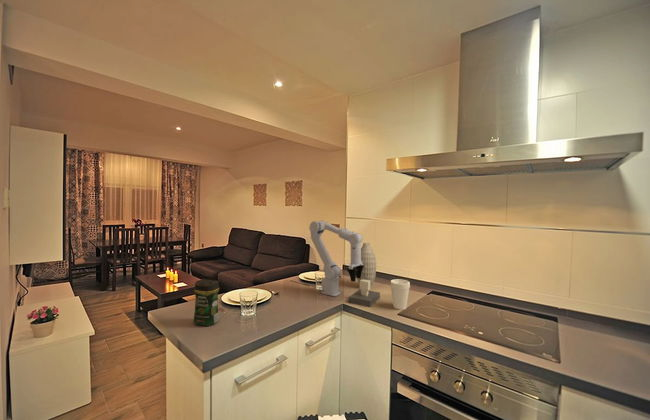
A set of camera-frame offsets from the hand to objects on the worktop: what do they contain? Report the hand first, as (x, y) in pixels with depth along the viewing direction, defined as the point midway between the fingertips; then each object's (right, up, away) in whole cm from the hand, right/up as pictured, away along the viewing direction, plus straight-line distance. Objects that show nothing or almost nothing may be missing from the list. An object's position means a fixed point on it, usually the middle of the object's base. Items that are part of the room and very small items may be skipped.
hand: (355, 279), depth 148 cm
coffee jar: (-68, -10, -34) cm, 77 cm away
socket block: (+4, -11, -3) cm, 12 cm away
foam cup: (+21, -11, -12) cm, 27 cm away
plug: (+5, -8, -3) cm, 9 cm away
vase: (+8, -11, +20) cm, 25 cm away
